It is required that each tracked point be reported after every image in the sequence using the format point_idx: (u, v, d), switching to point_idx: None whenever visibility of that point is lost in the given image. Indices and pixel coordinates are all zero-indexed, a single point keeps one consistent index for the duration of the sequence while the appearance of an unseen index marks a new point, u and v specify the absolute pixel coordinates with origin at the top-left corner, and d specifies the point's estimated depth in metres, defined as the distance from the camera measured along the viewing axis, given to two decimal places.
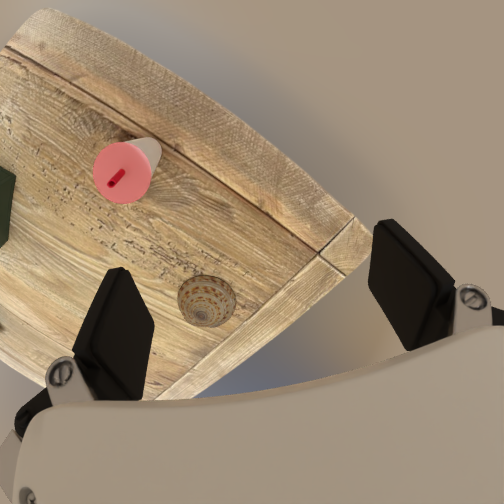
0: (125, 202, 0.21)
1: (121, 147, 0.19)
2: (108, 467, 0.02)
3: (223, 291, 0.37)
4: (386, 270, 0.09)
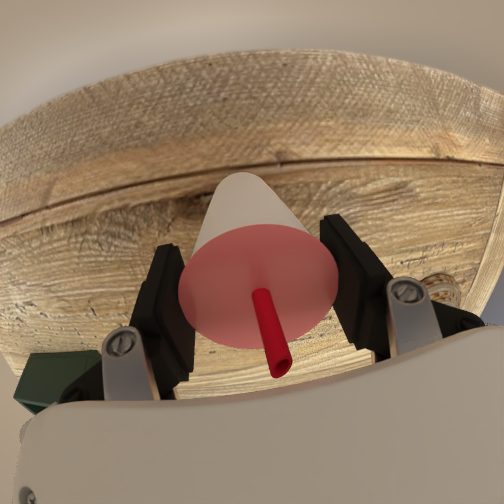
0: (306, 330, 0.10)
1: (217, 252, 0.08)
2: (108, 467, 0.02)
3: (446, 286, 0.21)
4: None
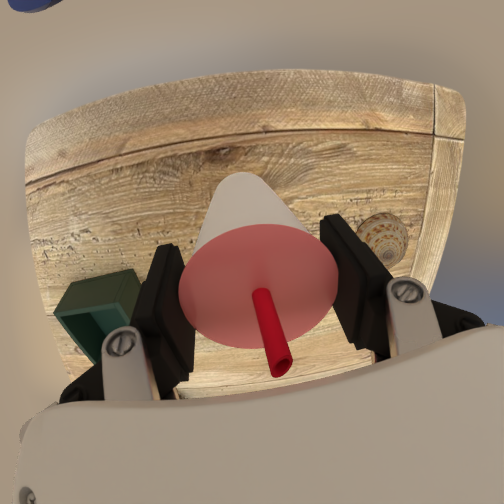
0: (306, 329, 0.10)
1: (217, 252, 0.08)
2: (108, 467, 0.02)
3: (390, 221, 0.32)
4: None
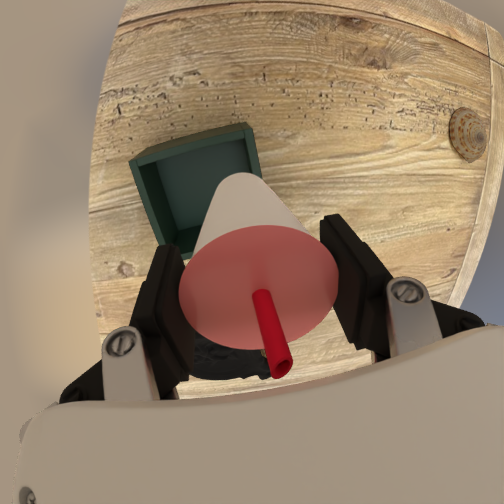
0: (306, 330, 0.10)
1: (217, 253, 0.08)
2: (108, 467, 0.02)
3: (474, 113, 0.26)
4: None
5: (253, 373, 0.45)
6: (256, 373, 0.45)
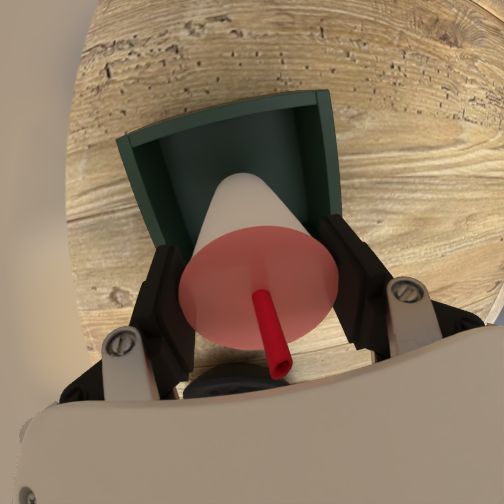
0: (306, 331, 0.10)
1: (217, 253, 0.08)
2: (108, 467, 0.02)
3: None
4: None
5: None
6: None
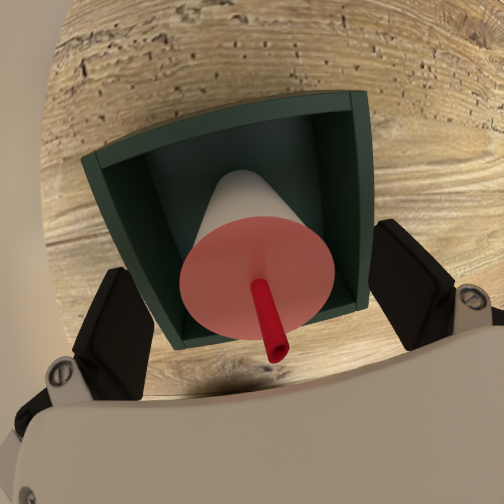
0: (303, 321, 0.11)
1: (217, 243, 0.08)
2: (108, 467, 0.02)
3: None
4: (386, 270, 0.09)
5: None
6: None
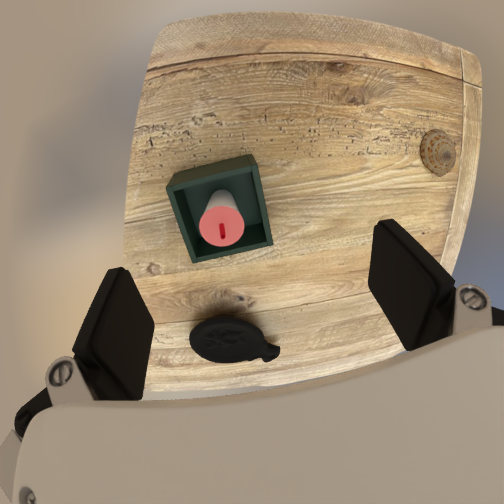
0: (237, 239, 0.34)
1: (209, 213, 0.32)
2: (108, 467, 0.02)
3: (443, 133, 0.36)
4: (386, 270, 0.09)
5: (258, 356, 0.54)
6: (260, 356, 0.54)
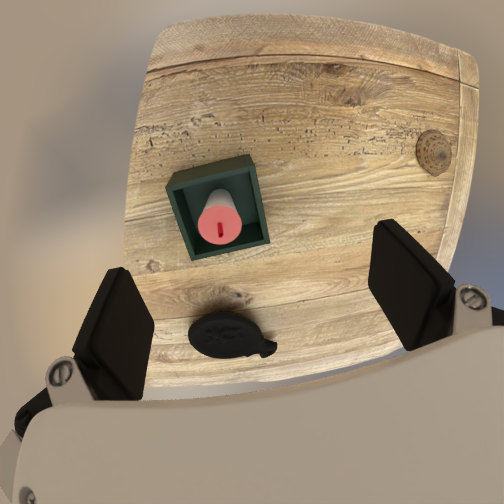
0: (234, 238, 0.35)
1: (208, 212, 0.33)
2: (108, 467, 0.02)
3: (439, 134, 0.37)
4: (386, 270, 0.09)
5: (255, 351, 0.56)
6: (258, 351, 0.56)
